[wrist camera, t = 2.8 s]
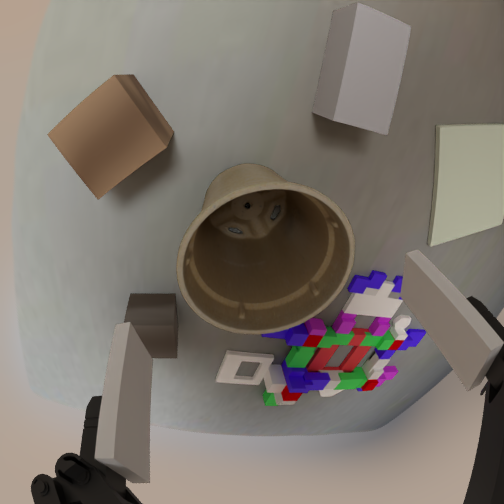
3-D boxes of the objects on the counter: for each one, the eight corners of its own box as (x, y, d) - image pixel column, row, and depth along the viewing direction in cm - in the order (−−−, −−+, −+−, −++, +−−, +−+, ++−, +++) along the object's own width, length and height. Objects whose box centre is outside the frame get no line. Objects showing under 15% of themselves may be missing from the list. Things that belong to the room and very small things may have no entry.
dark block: (130, 292, 26) (123, 324, 23) (175, 292, 27) (173, 325, 23) (136, 325, 28) (131, 357, 25) (178, 325, 29) (177, 358, 25)
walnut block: (77, 120, 18) (47, 134, 14) (133, 74, 17) (113, 75, 13) (117, 172, 21) (98, 199, 16) (174, 131, 20) (166, 147, 16)
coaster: (435, 125, 22) (440, 126, 21) (511, 123, 22) (515, 125, 22) (427, 243, 28) (430, 246, 28) (498, 221, 29) (501, 224, 28)
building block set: (451, 284, 33) (471, 307, 30) (371, 389, 43) (381, 412, 39) (266, 244, 26) (278, 276, 22) (209, 388, 36) (212, 419, 32)
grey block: (311, 112, 20) (333, 120, 17) (332, 11, 16) (357, 2, 13) (359, 124, 21) (386, 135, 18) (380, 29, 17) (411, 26, 14)
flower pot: (305, 250, 26) (343, 322, 19) (191, 263, 25) (192, 344, 18) (309, 138, 21) (366, 178, 14) (175, 148, 20) (161, 194, 13)
